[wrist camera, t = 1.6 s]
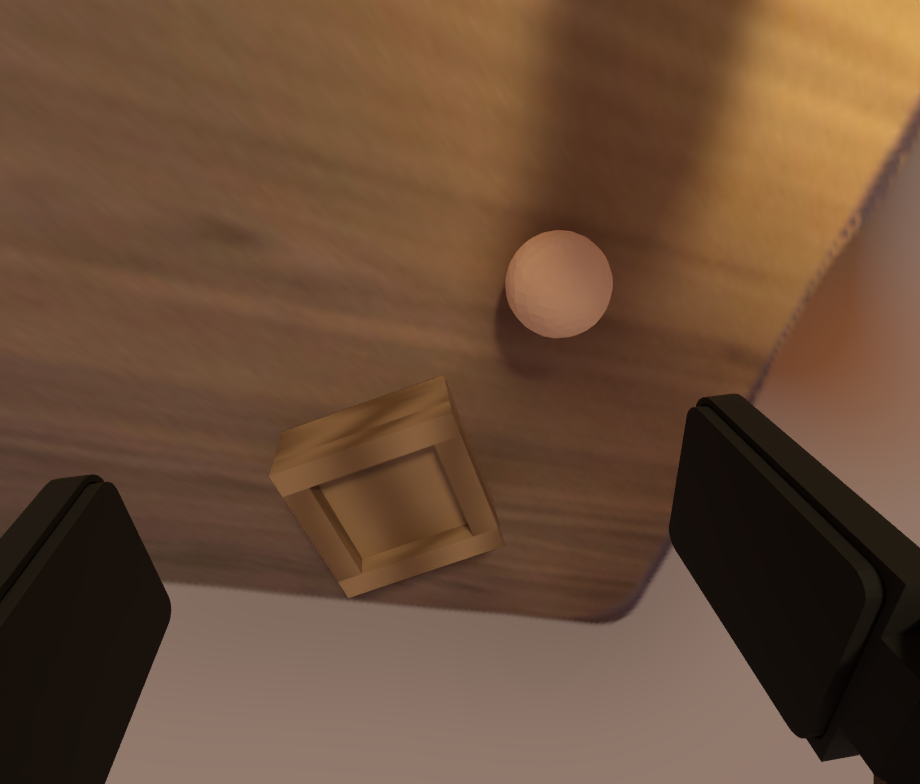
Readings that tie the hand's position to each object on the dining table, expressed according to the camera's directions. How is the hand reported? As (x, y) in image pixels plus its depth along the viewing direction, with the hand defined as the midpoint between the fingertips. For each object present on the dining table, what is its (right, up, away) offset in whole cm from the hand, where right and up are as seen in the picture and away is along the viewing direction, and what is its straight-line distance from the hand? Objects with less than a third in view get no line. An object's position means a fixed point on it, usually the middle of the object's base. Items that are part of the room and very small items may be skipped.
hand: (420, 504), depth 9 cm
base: (-3, -3, +25) cm, 25 cm away
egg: (+5, +9, +20) cm, 22 cm away
